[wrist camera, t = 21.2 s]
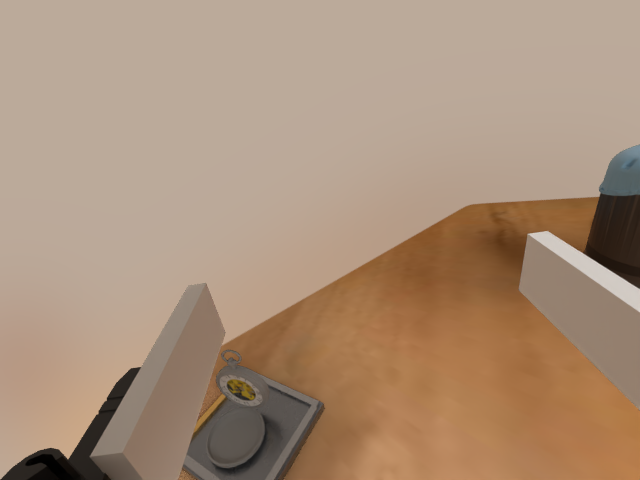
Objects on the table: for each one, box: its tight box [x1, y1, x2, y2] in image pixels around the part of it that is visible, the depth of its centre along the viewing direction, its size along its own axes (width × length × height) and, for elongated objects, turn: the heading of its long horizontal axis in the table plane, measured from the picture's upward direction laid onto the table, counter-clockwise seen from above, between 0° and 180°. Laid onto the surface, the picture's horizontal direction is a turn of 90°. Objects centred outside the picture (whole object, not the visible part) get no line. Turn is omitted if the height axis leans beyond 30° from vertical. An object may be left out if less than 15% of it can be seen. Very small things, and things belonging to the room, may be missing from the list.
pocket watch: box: [206, 350, 270, 468], centre depth 35 cm, size 8×8×10 cm
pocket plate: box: [182, 372, 325, 480], centre depth 37 cm, size 13×13×1 cm
